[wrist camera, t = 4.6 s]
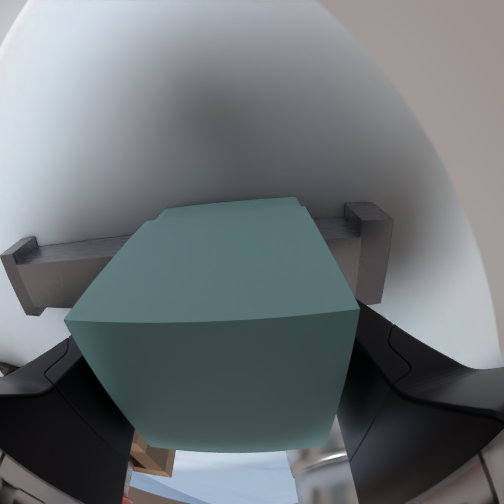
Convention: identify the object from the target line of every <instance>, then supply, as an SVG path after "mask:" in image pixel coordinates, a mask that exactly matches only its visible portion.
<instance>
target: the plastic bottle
mask: <svg viewBox="0 0 504 504" xmlns="http://www.w3.org/2000/svg"><path fill="white" fill-rule="evenodd" d="M286 454H287V458H288V463H289V467H290V470H291V473H292V476H293V478H295V486H296V491H297V496H298V502H299V504H359V502H358V498H357V494H356V490H355V485H354V481H353V477H352V473H351V469H350V465H349V464H350V463H349V461H348V457H347V453H346V449H345V445H344V441H343V438H342V434H341V430H340V426H339V423H338V419H337V415H336V416H335V419H334V422H333V426H332V429H331V432H330V435H329V438H328V441H327V444H326V446H321V447H313V448H306V449H297V450H287V451H286Z"/></svg>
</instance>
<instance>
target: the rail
mask: <svg viewBox="0 0 504 504" xmlns="http://www.w3.org/2000/svg"><path fill="white" fill-rule="evenodd" d="M313 221H314V223H315V225H316V226H317V228H318V230H319V232H320V233H321V235H322V237H323V239H324V241H325V242H326V244H327V246H328V248H329V250H330V251H331V253H332V255H333V257H334V259H335V261H336V263H337V264H338V266H339V268H340V270H341V272H342V274H343V276H344V278H345V280H346V282H347V283H348V285H349V287H350V289H351V291H352V293H353V295H354V297H355V298H356V299H358V300H359V301H361V302H362V303H364V304H365V305H371V304H378V303H381V298H382V293H383V287H384V282H385V276H386V270H387V264H388V257H389V250H390V243H391V235H392V226H393V218H391V217H390V216H389V215H388V214H386V213H385V212H384V211H383V210H381V209H380V208H379V207H378V206H376V205H375V204H374V203H373V202H360V203H345V217H340V218H322V219H313ZM131 237H132V235H127V236H118V237H110V238H102V239H93V240H86V241H78V242H70V243H63V244H55V245H48V246H41V247H38V246H37V243H36V240H35V237H29V238H24V239H21V240H20V241H18V242H17V243H16V244H14V245H13V246H12V247H10V248H9V249H8V250H6V251H5V252H4V253H3V254H1V255H0V257H1V260H2V263H3V265H4V268H5V270H6V273H7V275H8V277H9V280H10V282H11V284H12V286H13V289H14V291H15V293H16V295H17V297H18V299H19V301H20V303H21V305H22V307H23V309H24V311H25V313H26V315H31V316H40V315H41V314H42V312H43V311H44V310H45V309H46V307H52V308H73V307H74V305H75V304H76V303H77V301H78V300H79V299H80V297H81V296H82V295H83V294H84V292H85V291H86V290H87V288H88V287H89V286H90V285H91V283H92V282H93V281H94V280H95V278H96V277H97V276H98V275H99V274H100V272H101V271H102V270H103V269H104V268H105V266H106V265H107V264H108V263H109V262H110V260H111V259H112V258H113V257H114V256H115V255H116V253H117V252H118V251H119V250H120V249H121V248H122V247H123V245H124V244H125V243H126V242H127V241H128V240H129V239H130V238H131Z"/></svg>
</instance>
